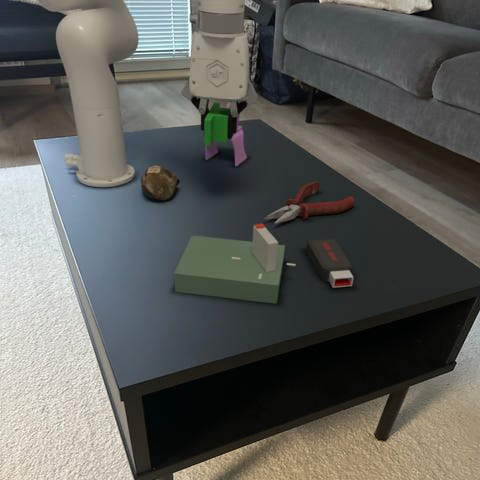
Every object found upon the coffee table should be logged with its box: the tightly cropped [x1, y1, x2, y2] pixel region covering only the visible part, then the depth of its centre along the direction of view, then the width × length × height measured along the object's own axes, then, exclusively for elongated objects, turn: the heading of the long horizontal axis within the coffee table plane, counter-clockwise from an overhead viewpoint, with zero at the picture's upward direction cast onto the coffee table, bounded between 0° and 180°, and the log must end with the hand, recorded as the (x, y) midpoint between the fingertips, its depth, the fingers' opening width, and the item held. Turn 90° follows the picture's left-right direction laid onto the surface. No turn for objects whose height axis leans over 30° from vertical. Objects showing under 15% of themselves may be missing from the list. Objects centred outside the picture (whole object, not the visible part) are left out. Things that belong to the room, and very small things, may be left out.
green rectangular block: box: [173, 234, 297, 305], centre depth 81 cm, size 18×12×4 cm, turn 81°
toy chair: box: [204, 99, 248, 167], centre depth 118 cm, size 8×9×15 cm
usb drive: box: [305, 238, 355, 289], centre depth 84 cm, size 5×12×3 cm, turn 10°
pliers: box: [263, 181, 356, 225], centre depth 101 cm, size 12×20×3 cm, turn 133°
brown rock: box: [140, 165, 181, 201], centre depth 104 cm, size 8×7×10 cm
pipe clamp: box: [203, 102, 231, 147], centre depth 93 cm, size 11×4×5 cm, turn 174°
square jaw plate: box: [252, 223, 279, 272], centre depth 78 cm, size 6×2×5 cm, turn 21°
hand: (218, 134), depth 94 cm, fingers closed on pipe clamp, 3 cm apart
